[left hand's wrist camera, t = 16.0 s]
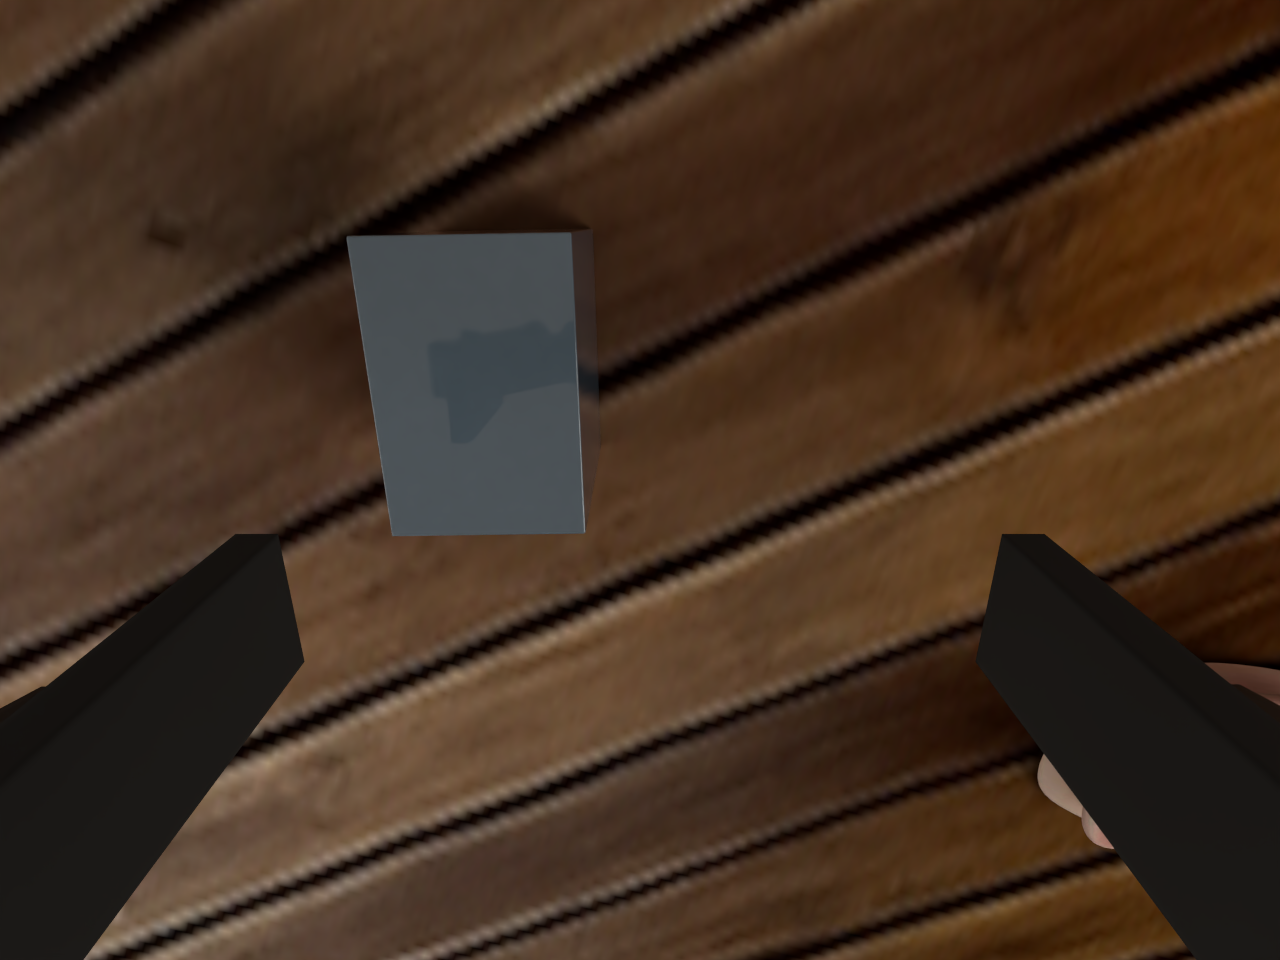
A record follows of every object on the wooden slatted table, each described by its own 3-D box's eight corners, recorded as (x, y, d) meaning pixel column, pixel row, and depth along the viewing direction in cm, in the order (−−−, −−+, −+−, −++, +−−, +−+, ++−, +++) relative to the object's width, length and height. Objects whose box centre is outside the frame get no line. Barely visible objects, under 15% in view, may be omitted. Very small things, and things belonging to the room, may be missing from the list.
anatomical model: (1480, 808, 29) (1248, 965, 32) (1384, 740, 32) (1184, 887, 36) (1279, 646, 26) (1048, 835, 29) (1199, 593, 30) (1002, 766, 33)
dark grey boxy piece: (601, 447, 28) (585, 534, 20) (460, 449, 28) (391, 536, 20) (592, 228, 25) (571, 232, 17) (436, 231, 25) (345, 236, 17)
